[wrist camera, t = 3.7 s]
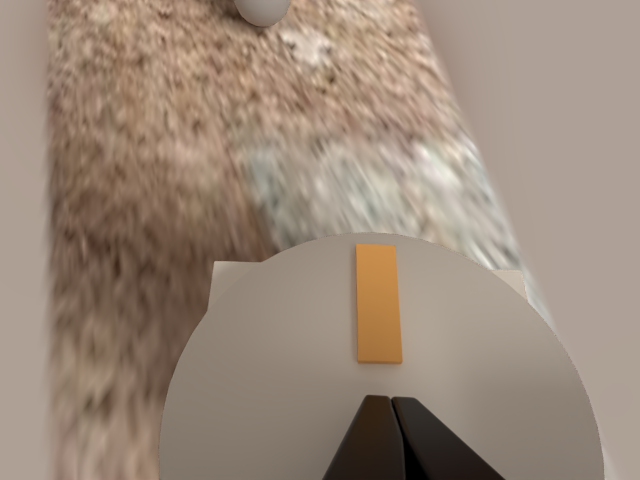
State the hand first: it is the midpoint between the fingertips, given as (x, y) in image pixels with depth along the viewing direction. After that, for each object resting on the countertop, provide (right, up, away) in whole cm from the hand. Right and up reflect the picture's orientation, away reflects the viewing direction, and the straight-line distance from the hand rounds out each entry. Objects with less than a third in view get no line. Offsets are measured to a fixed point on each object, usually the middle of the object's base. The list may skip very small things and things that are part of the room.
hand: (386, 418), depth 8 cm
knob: (0, -4, +6) cm, 7 cm away
